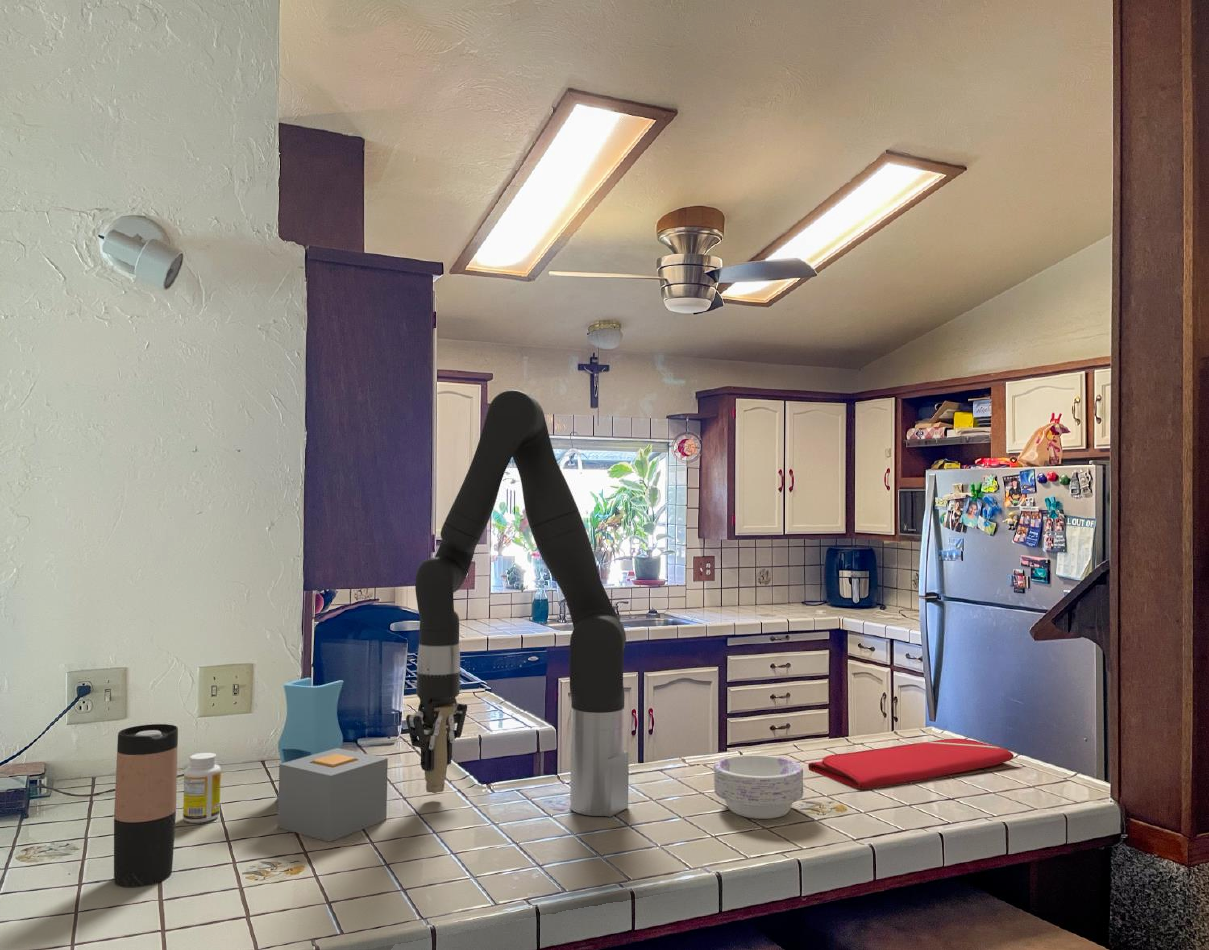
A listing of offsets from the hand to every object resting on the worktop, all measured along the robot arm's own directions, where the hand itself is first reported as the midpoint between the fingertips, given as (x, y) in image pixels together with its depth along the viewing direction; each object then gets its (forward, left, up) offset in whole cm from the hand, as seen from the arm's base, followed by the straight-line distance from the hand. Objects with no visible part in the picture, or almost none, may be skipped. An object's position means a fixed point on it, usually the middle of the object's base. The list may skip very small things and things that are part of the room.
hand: (436, 766), depth 157 cm
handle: (0, 0, -4) cm, 4 cm away
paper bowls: (-50, -26, -6) cm, 57 cm away
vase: (+21, +10, -6) cm, 24 cm away
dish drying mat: (-66, -69, -7) cm, 96 cm away
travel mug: (+11, +47, -6) cm, 49 cm away
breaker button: (+6, +18, 0) cm, 19 cm away
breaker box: (+6, +18, -6) cm, 20 cm away
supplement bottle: (+26, +28, -6) cm, 39 cm away
